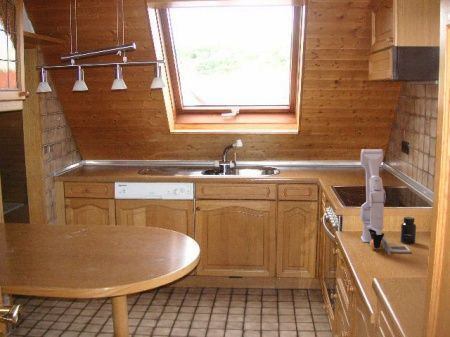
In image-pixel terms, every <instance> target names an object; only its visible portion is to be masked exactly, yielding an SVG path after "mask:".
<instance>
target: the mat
mask: <svg viewBox="0 0 450 337" xmlns="http://www.w3.org/2000/svg"><path fill="white" fill-rule="evenodd" d="M390 246H391V254H401V255H402V254H405V255H407V254H408V255H412V251H411V250H410V249H409V247H408V246H407V244H390Z"/></svg>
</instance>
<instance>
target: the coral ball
mask: <svg viewBox="0 0 450 337" xmlns="http://www.w3.org/2000/svg"><path fill="white" fill-rule="evenodd" d="M369 246H370V248H371V249H373V250H376V251H377V250H380V248H381V247H382V242H381V244H380V248H374V243H373V239H372V240H371V242H369Z"/></svg>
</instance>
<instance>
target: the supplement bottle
mask: <svg viewBox="0 0 450 337" xmlns="http://www.w3.org/2000/svg"><path fill="white" fill-rule="evenodd" d="M416 237H417V224H416V223H415V217H411V216H404V217H403V222H402V223H401V224H400V243H401V244H403V245H414V244H416V240H417V239H416Z"/></svg>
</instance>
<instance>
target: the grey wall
mask: <svg viewBox="0 0 450 337" xmlns="http://www.w3.org/2000/svg"><path fill="white" fill-rule="evenodd" d="M381 243H382V245H381V247H383V249H384V250H385V253H386V254H387V255H389V256H390V255H391V254H392V253H391V246H390V245H391V244H390V243H389V241H388V240H387V238H386V237H385V235H384V236H383V238H382V240H381Z"/></svg>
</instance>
